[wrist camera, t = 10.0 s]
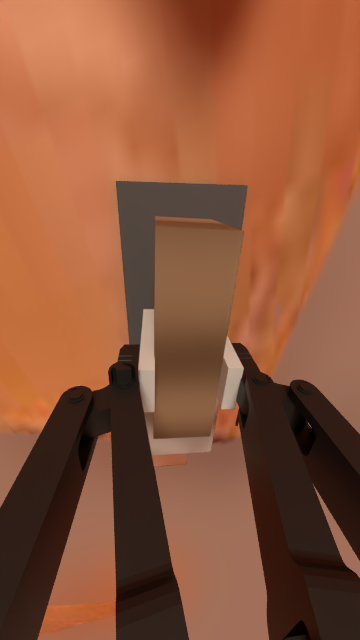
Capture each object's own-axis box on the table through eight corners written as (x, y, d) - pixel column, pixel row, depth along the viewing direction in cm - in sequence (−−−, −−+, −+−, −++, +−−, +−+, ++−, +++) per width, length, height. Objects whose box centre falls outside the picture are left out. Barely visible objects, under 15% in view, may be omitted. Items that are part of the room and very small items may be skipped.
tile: (131, 405, 30) (136, 455, 34) (130, 417, 28) (135, 468, 33) (188, 402, 30) (185, 452, 35) (189, 413, 29) (186, 464, 33)
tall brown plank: (116, 214, 14) (94, 224, 9) (247, 221, 15) (297, 233, 10) (130, 450, 24) (123, 523, 18) (209, 446, 25) (224, 514, 19)
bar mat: (133, 383, 27) (133, 386, 27) (117, 181, 18) (115, 181, 18) (219, 379, 28) (220, 383, 28) (244, 185, 19) (247, 185, 19)
